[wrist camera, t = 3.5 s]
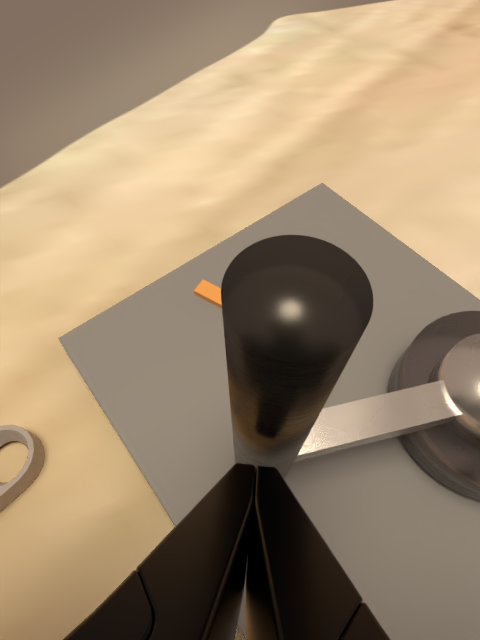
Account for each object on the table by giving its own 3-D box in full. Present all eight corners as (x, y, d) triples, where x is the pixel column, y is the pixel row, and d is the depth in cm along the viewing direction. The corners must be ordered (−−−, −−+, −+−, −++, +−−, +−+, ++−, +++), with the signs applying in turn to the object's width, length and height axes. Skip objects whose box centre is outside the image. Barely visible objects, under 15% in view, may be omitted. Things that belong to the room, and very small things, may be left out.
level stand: (661, 457, 16) (692, 450, 15) (386, 858, 11) (403, 892, 10) (319, 196, 24) (323, 178, 23) (66, 348, 19) (55, 335, 18)
